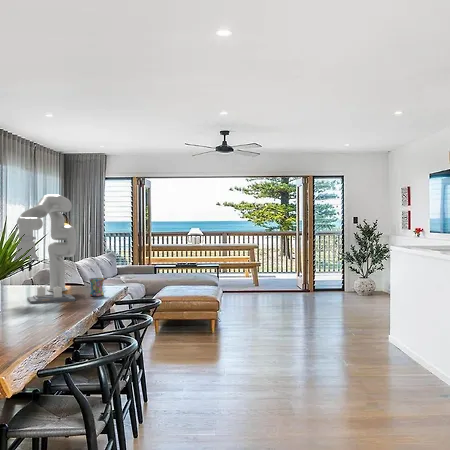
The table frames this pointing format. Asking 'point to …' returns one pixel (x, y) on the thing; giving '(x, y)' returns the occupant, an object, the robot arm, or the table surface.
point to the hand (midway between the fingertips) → (26, 270)
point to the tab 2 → (57, 291)
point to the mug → (96, 286)
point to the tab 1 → (40, 291)
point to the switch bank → (50, 299)
